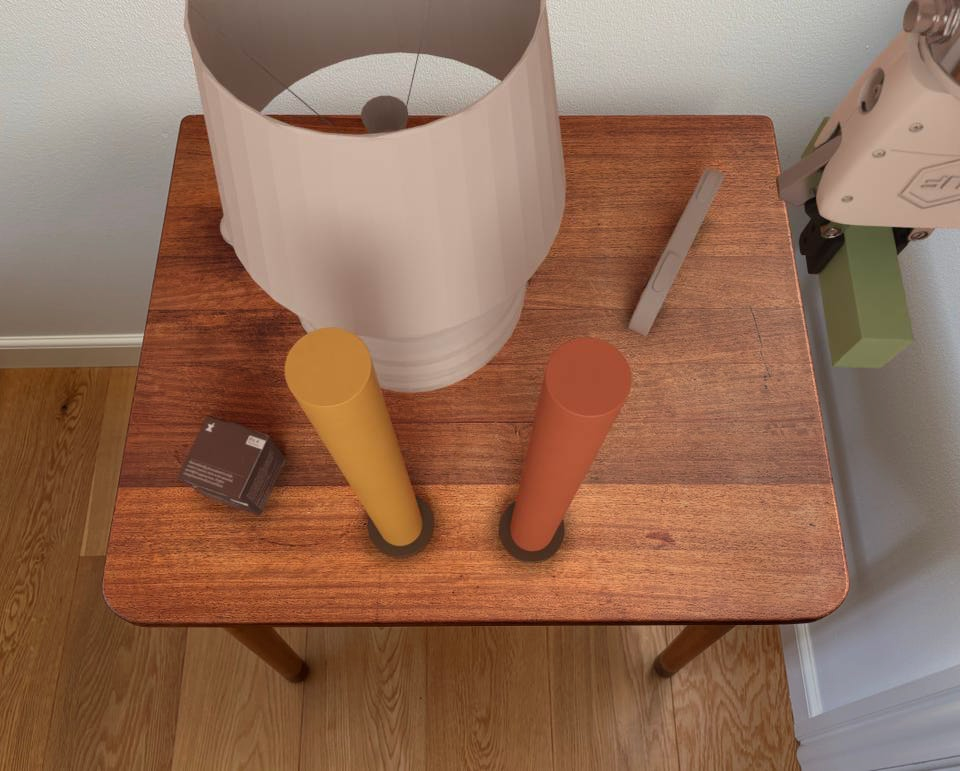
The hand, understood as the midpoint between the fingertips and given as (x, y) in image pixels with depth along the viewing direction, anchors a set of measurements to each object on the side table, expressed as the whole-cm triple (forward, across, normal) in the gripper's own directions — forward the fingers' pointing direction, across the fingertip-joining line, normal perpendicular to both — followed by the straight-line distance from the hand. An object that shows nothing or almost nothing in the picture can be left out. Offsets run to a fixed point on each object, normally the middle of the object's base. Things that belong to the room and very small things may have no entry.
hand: (839, 254), depth 50 cm
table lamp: (+27, -30, +8) cm, 41 cm away
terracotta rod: (+28, -18, -13) cm, 35 cm away
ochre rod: (+27, -30, -13) cm, 43 cm away
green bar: (0, 0, 0) cm, 0 cm away
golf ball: (+27, -49, +17) cm, 59 cm away
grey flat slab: (+27, -4, +15) cm, 31 cm away
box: (+28, -45, -9) cm, 54 cm away
